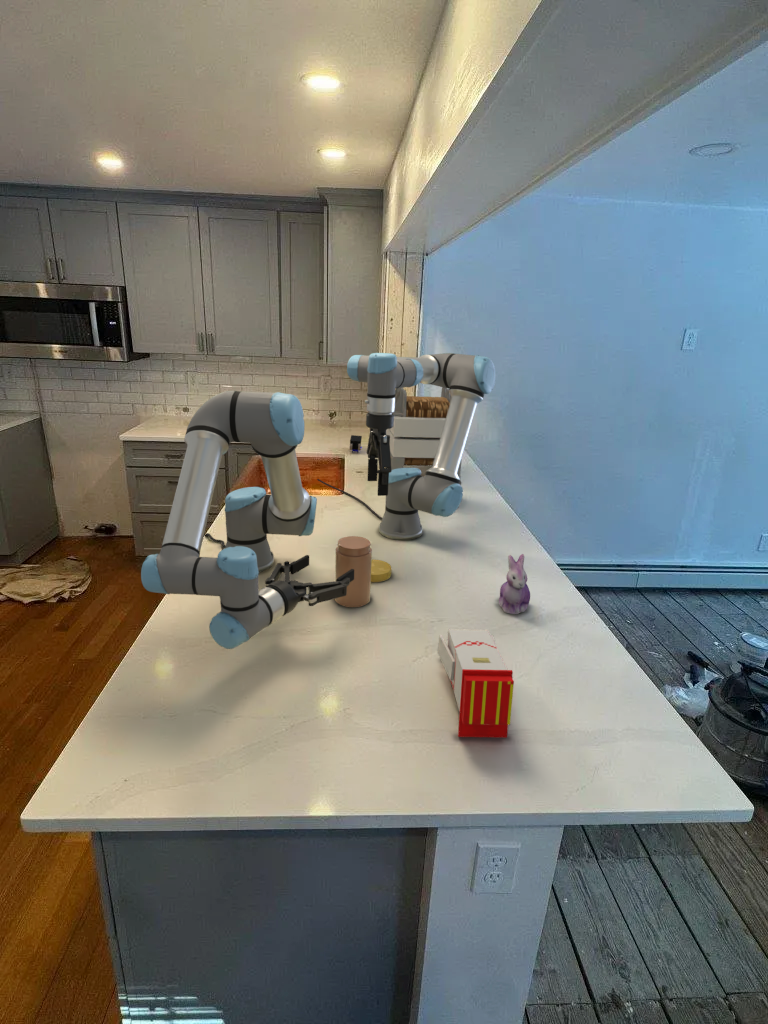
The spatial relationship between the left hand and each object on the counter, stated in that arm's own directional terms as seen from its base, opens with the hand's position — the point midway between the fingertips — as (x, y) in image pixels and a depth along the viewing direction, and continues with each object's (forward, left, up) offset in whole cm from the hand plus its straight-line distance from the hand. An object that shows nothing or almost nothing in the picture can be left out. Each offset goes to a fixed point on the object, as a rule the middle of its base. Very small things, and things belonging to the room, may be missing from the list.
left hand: (330, 566), depth 140 cm
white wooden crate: (-43, +135, -14) cm, 142 cm away
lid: (-4, +27, -12) cm, 30 cm away
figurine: (+38, +32, -14) cm, 52 cm away
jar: (0, +11, -14) cm, 18 cm away
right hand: (-3, +27, +13) cm, 31 cm away
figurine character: (-91, +152, -14) cm, 177 cm away
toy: (+42, -9, -14) cm, 45 cm away
